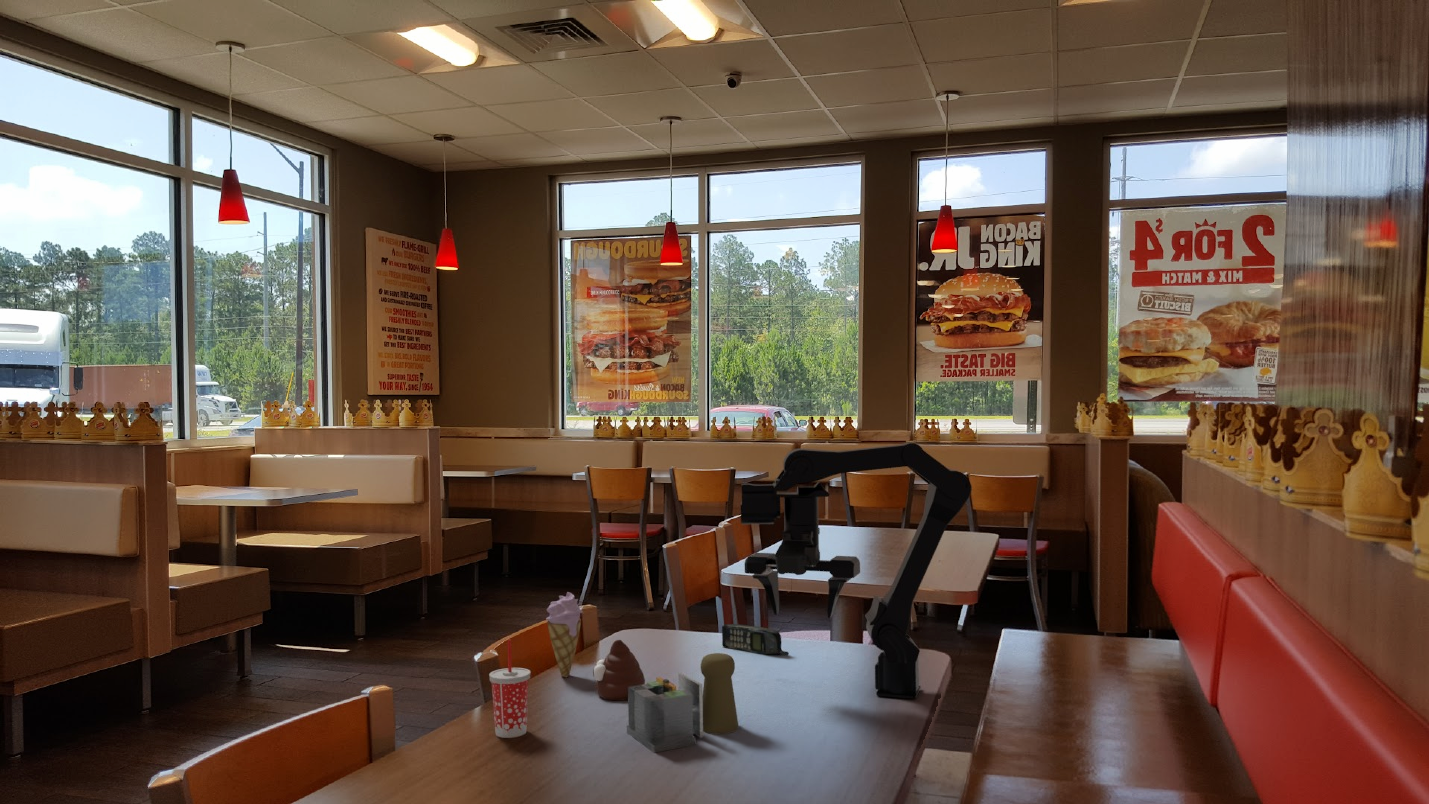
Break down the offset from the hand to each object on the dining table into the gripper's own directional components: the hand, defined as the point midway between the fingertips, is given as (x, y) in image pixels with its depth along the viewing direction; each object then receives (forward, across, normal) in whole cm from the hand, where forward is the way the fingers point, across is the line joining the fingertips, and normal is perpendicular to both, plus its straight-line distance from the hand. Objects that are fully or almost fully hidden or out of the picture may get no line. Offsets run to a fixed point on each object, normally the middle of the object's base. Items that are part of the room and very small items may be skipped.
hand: (802, 616), depth 166 cm
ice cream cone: (+13, -44, -2) cm, 46 cm away
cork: (+13, -8, -20) cm, 26 cm away
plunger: (+13, -12, -25) cm, 31 cm away
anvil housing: (+13, -14, -27) cm, 33 cm away
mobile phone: (+13, -17, +25) cm, 33 cm away
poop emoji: (+13, -30, -8) cm, 34 cm away
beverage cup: (+13, -37, -32) cm, 51 cm away
